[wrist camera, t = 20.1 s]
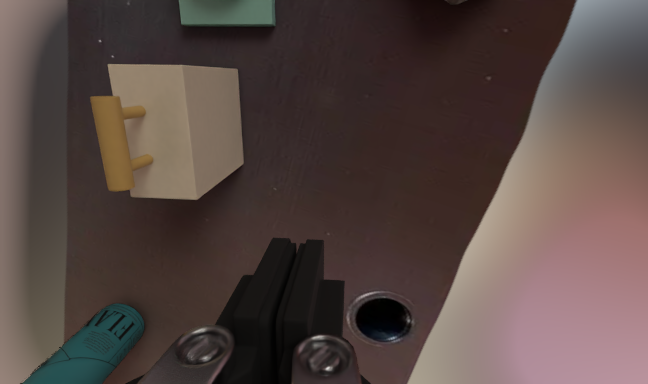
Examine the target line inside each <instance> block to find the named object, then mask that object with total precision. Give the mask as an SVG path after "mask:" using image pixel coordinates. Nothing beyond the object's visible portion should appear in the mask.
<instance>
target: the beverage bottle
mask: <svg viewBox="0 0 648 384" xmlns="http://www.w3.org/2000/svg"><path fill="white" fill-rule="evenodd" d="M99 311H100V310H99ZM95 315H96V316H95ZM95 315H94V316H95V317H94V316H93V317H92V318H91V320H90V321H87V322H86V323H87V324H86V323H85V324H86V325H85V326H84V327H83V326H82V327H83V328H82V327H81V328H82V329H81V328H80V329H81V330H80V331H79V332H77V333H75V335H72V336H73V337H72V338H71V339H70V338H69V339H70V340H68V341H67V343H66V344H63V346H62V347H59V348H60V349H59V350H58V351H57V352H56V353H54V355H53V356H51V358H49V359H48V360H47V361H45V362H44V363H42V364H41V367H40V366H38V367H40V368H38V369H37V370H36V371H35V372H33V373H32V374H31V376H30V377H29V378H28V379H26V380H25V381H24V382H23V383H20V384H102V383H103V382H104V380H105V379H106V378H107V377H108V376H109V374H110V373H112V371H113V370H114V369H115V368H116V367H117V365H119V363H120V362H121V361H122V359H124V357H125V356H126V355H127V353H129V351H130V350H131V349H132V347H134V346H135V344H136V343H137V341H139V340H140V338H141V336H143V335H142V334H143V332H144V321H143V319H142V317H141V315H140V314H139V313H138V312H137V311H136V310H135V309H133V308H132V307H130V306H128V305H125V304H111V305H109V306H106V307H105V308H104V309H101V311H100V312H99V313H98V314H97V313H96V314H95Z"/></svg>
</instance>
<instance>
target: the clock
mask: <svg viewBox="0 0 648 384" xmlns="http://www.w3.org/2000/svg"><path fill="white" fill-rule="evenodd" d="M108 70H109V75H110V81H111V87H112V92H113V96H93V97H90V100H91V105H92V110H93V115H94V120H95V125H96V130H97V135H98V140H99V145H100V150H101V155H102V161H103V166H104V171H105V176H106V181H107V186H108V190H110V191H125V190H129V189H130V194H131V197H142V198H165V199H189V200H197V199H199V198H200V197H201V196H203V195H204V194H205V193H206V192H208V191H209V190H210V189H212V188H213V187H214V186H216V185H217V184H218V183H219V182H221V181H222V180H223V179H225V178H226V177H227V176H228V175H230V174H231V173H232V172H234V171H235V170H236V169H237V168H239V167H240V166H241V165H243V164H244V160H243V144H242V129H241V113H240V97H239V82H238V69H230V68H216V67H202V66H188V65H129V64H108Z"/></svg>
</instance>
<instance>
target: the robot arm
mask: <svg viewBox="0 0 648 384" xmlns="http://www.w3.org/2000/svg"><path fill="white" fill-rule="evenodd" d="M344 282H345V281H339V280H324V240H309V239H307V241H306V244H303V243H300V246H299V249H298V252H297V253H296V243H291V241H290V239H289V238H273V239H272V240H271V242H270V244H269V246H268V248H267V250H266V252H265V254H264V256H263V258H262V260H261V262H260V264H259V266H258V268H257V270H256V271H255V273H254V275H244V276H243V277H242V278H241V280H240V282H239V283H238V285H237V287H236V289H235V290H234V292H233V294H232V296H231V297H230V299H229V301H228V303H227V305H226V306H225V308H224V310H223V312H222V313H221V315H220V317H219V319H218V320H217V322H216V324H215V325H205V326H199V327H197V328H194V329H191V330H189V331H187V332H186V333H184V334H182V335H181V336H180V337H179V338H178V339H177V340H176V341H175V342H174V343H173V344H172V345H171V346H170V347H169V348H168V350H167V351H166V352H165V353H164V354H163V355H162V356H161V357H160V359H159V360H158V361H157V362H156V363H155V364H154V365H153V366H152V367H151V369H150V370H149V371H148V372H147V373H146V374H145V375H143V376H140V377H138V378H136V379H134V380H132V381H130V382H128V383H126V384H371V383H370V382H368V381H367V380H366V379H365V378H364V377H363V376H362V375H361V374H360V372H359V367H358V362H357V357H356V353H355V350H354V348H353V346H352V345H351V344H350V343H349V342H348V340H346V339H344V338H343V337H342V334H343V311H344Z"/></svg>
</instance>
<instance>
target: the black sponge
mask: <svg viewBox="0 0 648 384" xmlns="http://www.w3.org/2000/svg"><path fill="white" fill-rule="evenodd" d="M445 1H446V2H449V4H450V5H456V4H459V3H462V2H465V1H467V0H445Z"/></svg>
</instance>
